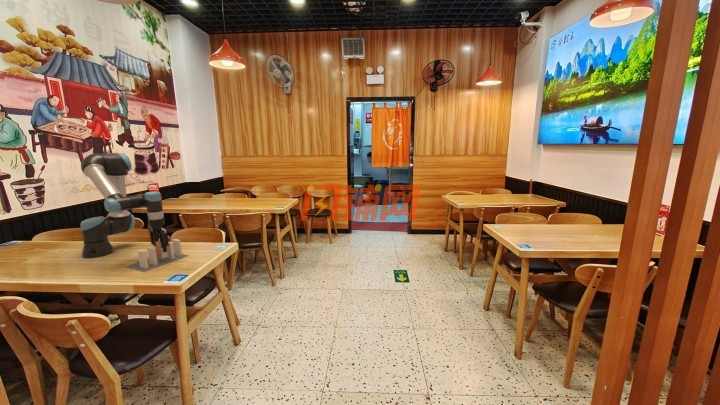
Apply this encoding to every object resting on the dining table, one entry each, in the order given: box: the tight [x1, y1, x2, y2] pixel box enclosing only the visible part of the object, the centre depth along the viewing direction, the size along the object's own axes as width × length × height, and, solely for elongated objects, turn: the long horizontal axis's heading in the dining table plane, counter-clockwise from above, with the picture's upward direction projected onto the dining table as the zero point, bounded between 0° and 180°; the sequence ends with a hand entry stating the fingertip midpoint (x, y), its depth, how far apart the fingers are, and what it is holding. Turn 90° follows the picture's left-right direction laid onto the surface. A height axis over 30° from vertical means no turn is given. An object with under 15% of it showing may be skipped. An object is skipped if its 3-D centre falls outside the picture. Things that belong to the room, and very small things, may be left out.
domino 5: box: [171, 238, 183, 256], centre depth 180 cm, size 2×5×10 cm, turn 67°
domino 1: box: [137, 249, 149, 268], centre depth 162 cm, size 2×5×10 cm, turn 67°
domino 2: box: [146, 246, 158, 265], centre depth 167 cm, size 2×5×10 cm, turn 67°
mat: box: [124, 253, 190, 273], centre depth 172 cm, size 18×26×1 cm
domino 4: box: [166, 241, 174, 259], centre depth 176 cm, size 2×5×10 cm, turn 67°
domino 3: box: [155, 240, 166, 259], centre depth 171 cm, size 2×5×10 cm, turn 67°
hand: (161, 256), depth 172 cm, fingers closed on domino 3, 5 cm apart
